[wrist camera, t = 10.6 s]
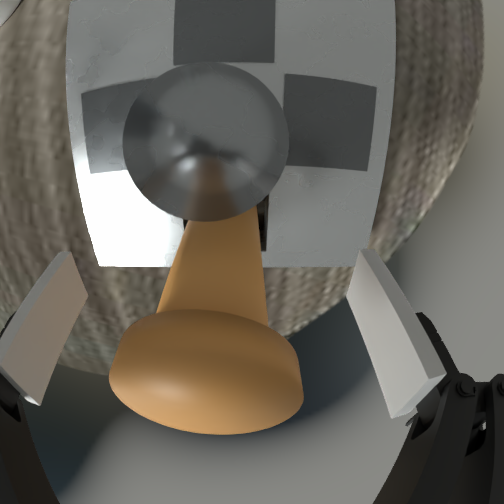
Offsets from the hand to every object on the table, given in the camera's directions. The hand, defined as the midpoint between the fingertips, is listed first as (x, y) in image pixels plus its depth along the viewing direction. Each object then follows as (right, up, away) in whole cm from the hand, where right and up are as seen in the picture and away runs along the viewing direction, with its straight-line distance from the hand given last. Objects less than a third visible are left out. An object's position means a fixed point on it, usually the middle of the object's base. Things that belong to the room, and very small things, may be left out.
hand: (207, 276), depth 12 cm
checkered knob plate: (0, +10, +5) cm, 11 cm away
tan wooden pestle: (0, +5, +8) cm, 9 cm away
